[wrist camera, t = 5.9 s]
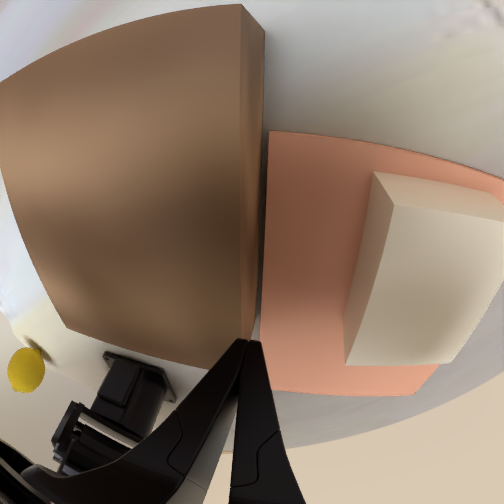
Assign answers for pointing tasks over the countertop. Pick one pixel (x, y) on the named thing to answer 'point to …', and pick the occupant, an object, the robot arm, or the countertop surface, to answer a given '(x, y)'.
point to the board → (144, 180)
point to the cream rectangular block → (422, 271)
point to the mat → (330, 257)
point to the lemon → (26, 370)
